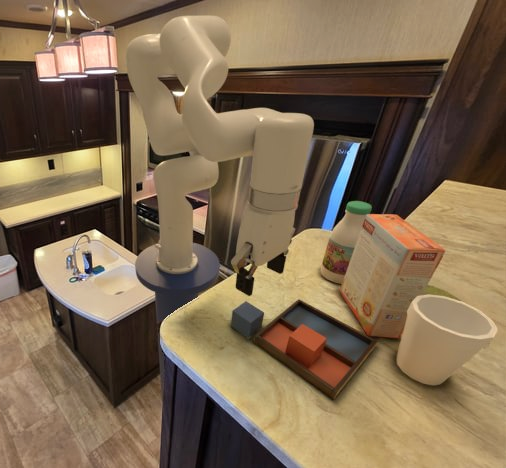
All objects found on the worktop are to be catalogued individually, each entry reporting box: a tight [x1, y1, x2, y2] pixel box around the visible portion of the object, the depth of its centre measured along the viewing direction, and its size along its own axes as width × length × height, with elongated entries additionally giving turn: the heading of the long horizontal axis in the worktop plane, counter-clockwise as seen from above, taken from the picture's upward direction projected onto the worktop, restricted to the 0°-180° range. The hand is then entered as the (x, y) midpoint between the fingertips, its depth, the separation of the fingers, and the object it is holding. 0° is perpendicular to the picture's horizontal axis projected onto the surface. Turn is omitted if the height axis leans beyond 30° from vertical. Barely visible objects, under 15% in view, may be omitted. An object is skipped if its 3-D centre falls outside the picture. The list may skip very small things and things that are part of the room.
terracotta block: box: [285, 324, 327, 368], centre depth 53 cm, size 4×4×4 cm
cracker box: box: [339, 213, 447, 340], centre depth 58 cm, size 14×6×21 cm, turn 170°
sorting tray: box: [253, 298, 378, 400], centre depth 56 cm, size 15×16×2 cm
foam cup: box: [395, 294, 499, 386], centre depth 48 cm, size 10×9×13 cm
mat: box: [423, 284, 461, 301], centre depth 63 cm, size 11×11×2 cm
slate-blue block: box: [230, 300, 265, 339], centre depth 61 cm, size 4×4×4 cm
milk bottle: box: [320, 200, 373, 285], centre depth 70 cm, size 8×8×20 cm
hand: (259, 280), depth 55 cm, fingers open, 9 cm apart
